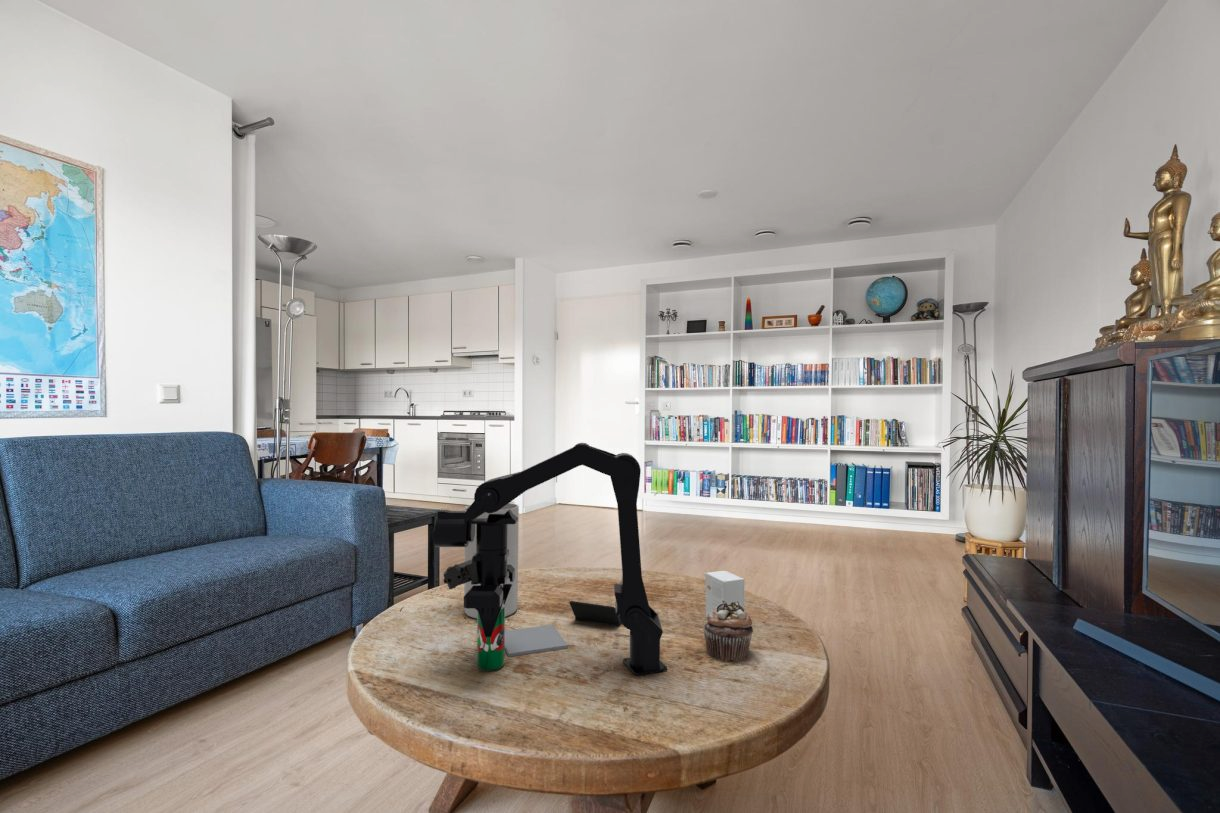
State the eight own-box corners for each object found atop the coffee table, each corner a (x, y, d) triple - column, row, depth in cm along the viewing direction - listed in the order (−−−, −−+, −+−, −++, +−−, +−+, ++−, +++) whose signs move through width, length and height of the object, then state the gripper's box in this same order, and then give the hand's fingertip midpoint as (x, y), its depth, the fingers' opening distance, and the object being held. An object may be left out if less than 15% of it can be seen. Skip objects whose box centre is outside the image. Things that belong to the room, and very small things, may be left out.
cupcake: (740, 642, 118) (740, 593, 118) (760, 662, 108) (760, 609, 108) (696, 644, 116) (696, 595, 117) (712, 665, 107) (712, 611, 107)
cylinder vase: (511, 600, 143) (512, 501, 144) (522, 616, 132) (523, 509, 132) (461, 605, 139) (462, 503, 139) (467, 623, 127) (469, 511, 128)
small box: (745, 626, 127) (745, 578, 127) (723, 629, 125) (724, 581, 125) (725, 614, 134) (725, 569, 134) (704, 617, 132) (705, 572, 132)
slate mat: (568, 648, 114) (568, 645, 114) (508, 656, 110) (508, 653, 110) (552, 627, 125) (552, 624, 125) (497, 634, 121) (497, 631, 121)
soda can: (506, 660, 108) (506, 597, 108) (502, 672, 103) (502, 606, 103) (479, 660, 108) (480, 597, 108) (474, 672, 103) (474, 606, 103)
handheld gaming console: (628, 608, 134) (619, 582, 128) (627, 636, 128) (617, 610, 122) (582, 611, 136) (570, 586, 130) (578, 639, 130) (566, 613, 125)
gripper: (460, 536, 115) (460, 613, 115) (434, 559, 96) (432, 652, 96) (515, 536, 115) (515, 613, 115) (499, 559, 97) (498, 651, 96)
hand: (491, 631), depth 106 cm, fingers closed on soda can, 5 cm apart
